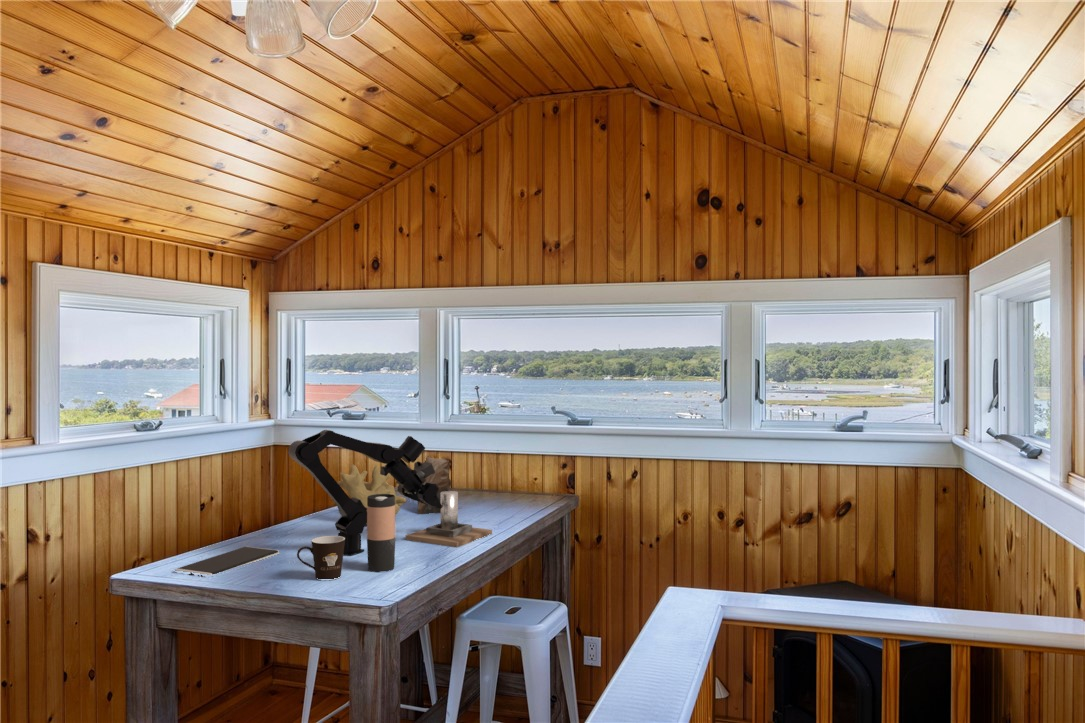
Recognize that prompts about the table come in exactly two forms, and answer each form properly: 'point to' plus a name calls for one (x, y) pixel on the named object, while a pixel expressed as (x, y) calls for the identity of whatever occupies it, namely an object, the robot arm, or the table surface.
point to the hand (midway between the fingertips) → (434, 505)
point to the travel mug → (381, 532)
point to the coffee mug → (326, 556)
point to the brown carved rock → (439, 478)
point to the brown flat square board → (448, 535)
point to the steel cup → (449, 510)
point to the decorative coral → (368, 486)
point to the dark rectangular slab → (228, 560)
